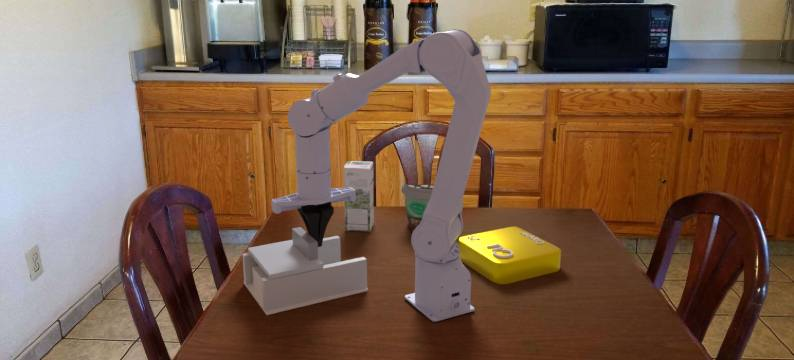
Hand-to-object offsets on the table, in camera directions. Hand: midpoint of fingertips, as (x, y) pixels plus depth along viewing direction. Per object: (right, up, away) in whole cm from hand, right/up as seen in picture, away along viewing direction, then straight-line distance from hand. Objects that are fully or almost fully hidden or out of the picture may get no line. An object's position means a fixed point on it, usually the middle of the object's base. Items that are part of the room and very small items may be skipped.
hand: (316, 245), depth 110 cm
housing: (-2, -7, +1) cm, 8 cm away
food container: (+20, 0, +28) cm, 35 cm away
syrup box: (+6, +1, +29) cm, 30 cm away
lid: (-5, -2, -2) cm, 6 cm away
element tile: (+35, -5, +12) cm, 37 cm away
